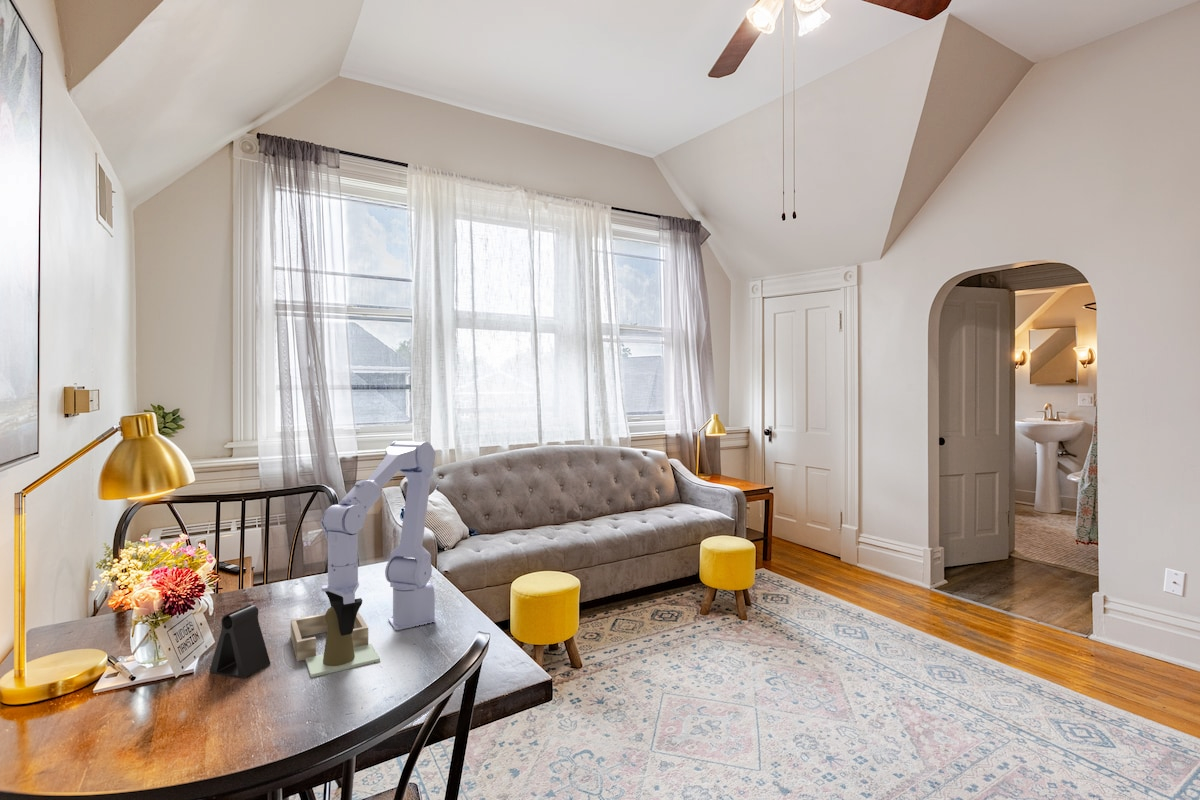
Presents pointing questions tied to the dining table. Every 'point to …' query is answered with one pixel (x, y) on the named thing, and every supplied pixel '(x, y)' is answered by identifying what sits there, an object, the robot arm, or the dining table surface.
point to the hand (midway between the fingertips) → (343, 627)
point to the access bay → (319, 625)
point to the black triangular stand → (240, 645)
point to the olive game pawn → (336, 643)
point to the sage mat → (362, 657)
